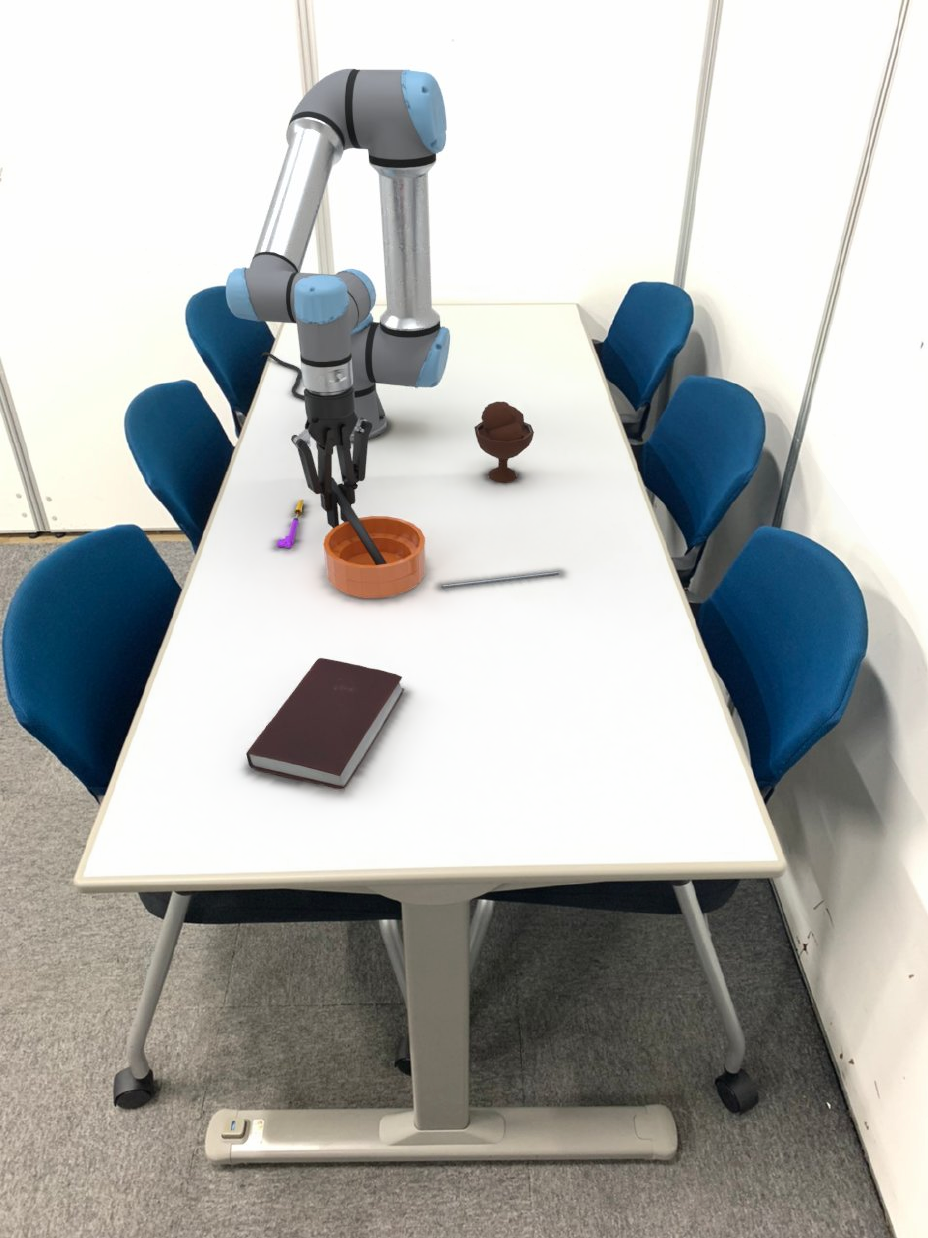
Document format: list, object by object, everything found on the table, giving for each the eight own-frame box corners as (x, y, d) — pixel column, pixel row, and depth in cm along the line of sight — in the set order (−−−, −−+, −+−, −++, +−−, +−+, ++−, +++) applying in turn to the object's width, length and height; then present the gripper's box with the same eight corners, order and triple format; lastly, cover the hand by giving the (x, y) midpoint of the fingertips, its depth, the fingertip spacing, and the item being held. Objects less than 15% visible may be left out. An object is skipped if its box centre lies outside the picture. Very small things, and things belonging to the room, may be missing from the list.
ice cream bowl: (527, 491, 165) (531, 415, 156) (468, 485, 166) (468, 409, 158) (535, 466, 173) (539, 392, 164) (478, 461, 175) (480, 387, 166)
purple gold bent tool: (293, 548, 147) (305, 502, 160) (290, 542, 147) (303, 496, 160) (277, 551, 148) (291, 505, 161) (275, 545, 147) (289, 500, 160)
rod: (440, 587, 139) (440, 584, 139) (557, 574, 143) (557, 570, 142) (441, 590, 139) (441, 586, 138) (558, 576, 142) (558, 572, 142)
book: (247, 769, 107) (243, 749, 105) (319, 672, 122) (317, 653, 120) (343, 794, 104) (341, 774, 102) (404, 692, 118) (404, 673, 117)
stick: (327, 529, 151) (322, 476, 145) (335, 526, 152) (331, 473, 146) (388, 586, 138) (386, 530, 132) (397, 583, 139) (395, 527, 133)
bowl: (309, 566, 143) (306, 533, 140) (393, 538, 151) (391, 507, 147) (357, 612, 133) (355, 579, 130) (444, 580, 140) (444, 547, 137)
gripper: (294, 405, 128) (310, 546, 142) (384, 384, 135) (390, 520, 148) (272, 389, 133) (289, 527, 147) (359, 369, 140) (367, 502, 153)
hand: (340, 523), depth 147 cm, fingers closed
